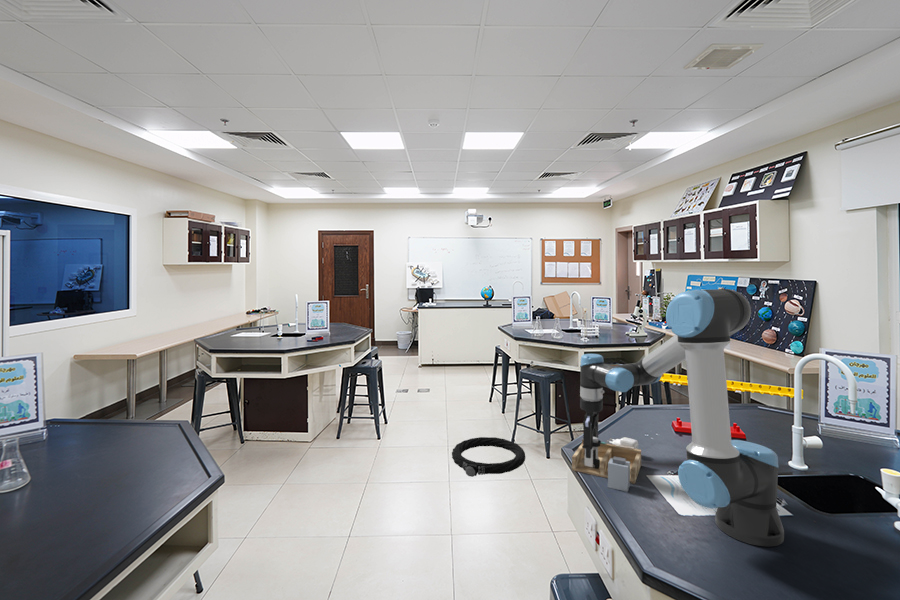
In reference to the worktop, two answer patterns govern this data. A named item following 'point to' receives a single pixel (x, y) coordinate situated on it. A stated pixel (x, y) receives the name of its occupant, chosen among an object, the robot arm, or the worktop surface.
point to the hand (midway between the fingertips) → (590, 462)
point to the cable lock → (485, 468)
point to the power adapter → (625, 442)
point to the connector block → (619, 474)
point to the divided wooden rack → (604, 456)
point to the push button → (595, 453)
